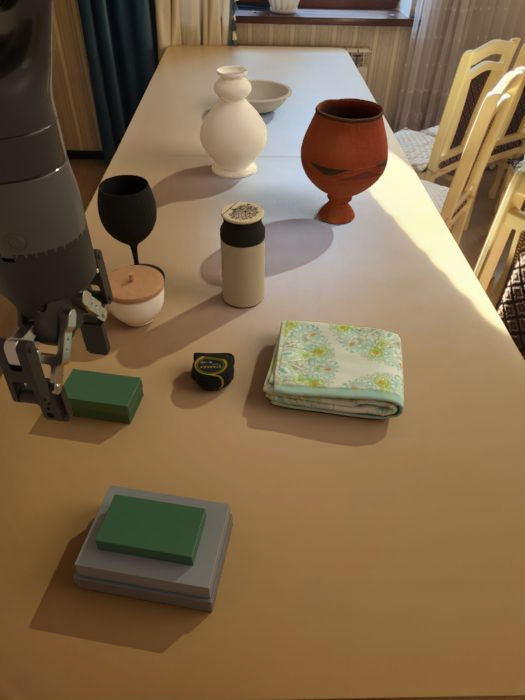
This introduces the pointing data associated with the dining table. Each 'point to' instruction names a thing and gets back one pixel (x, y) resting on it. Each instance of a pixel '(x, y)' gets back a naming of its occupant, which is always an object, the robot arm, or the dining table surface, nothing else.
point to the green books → (103, 395)
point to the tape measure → (213, 370)
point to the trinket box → (136, 294)
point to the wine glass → (128, 211)
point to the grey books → (157, 575)
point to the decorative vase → (233, 126)
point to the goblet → (344, 153)
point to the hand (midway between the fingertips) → (81, 382)
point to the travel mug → (242, 254)
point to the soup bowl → (267, 95)
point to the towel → (337, 370)
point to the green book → (152, 529)
